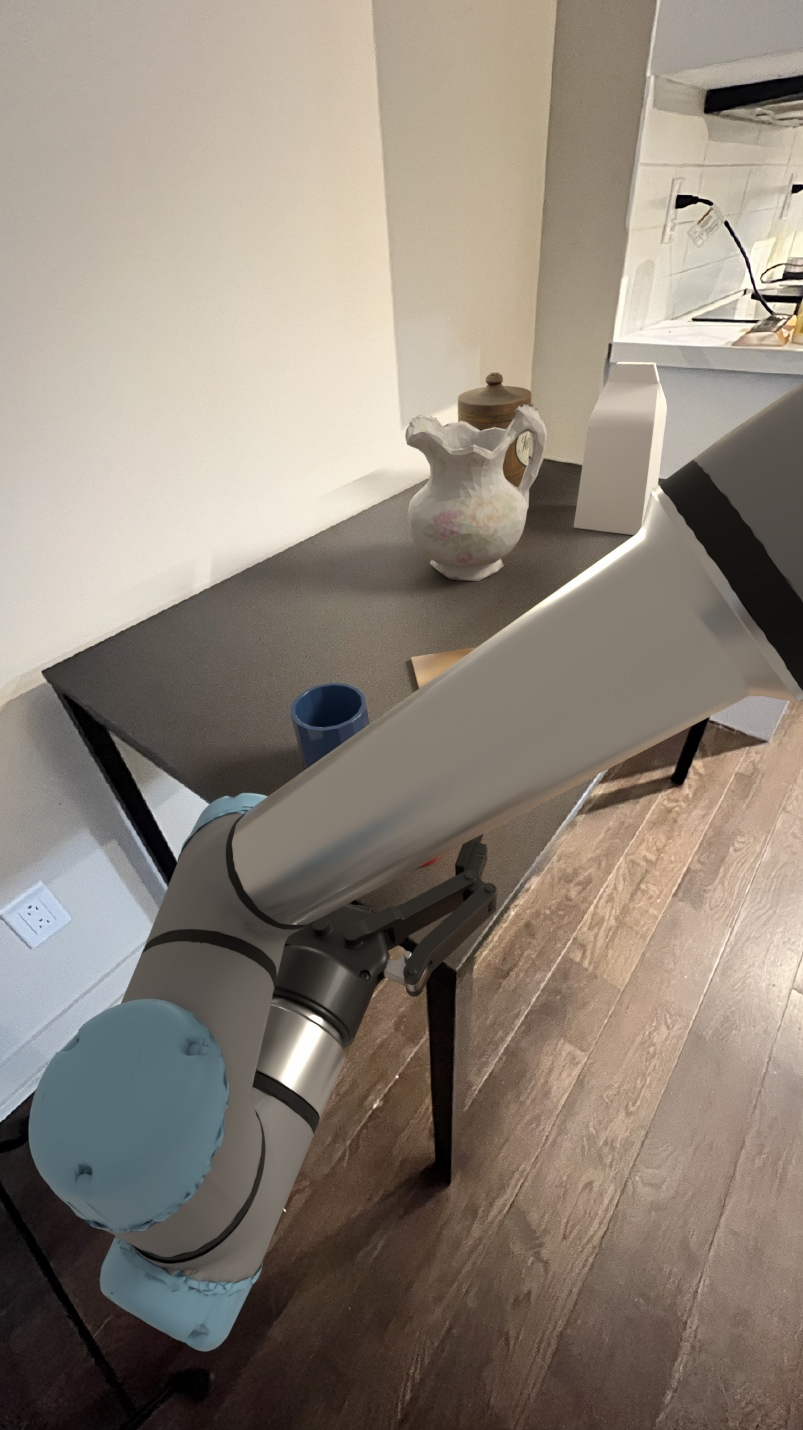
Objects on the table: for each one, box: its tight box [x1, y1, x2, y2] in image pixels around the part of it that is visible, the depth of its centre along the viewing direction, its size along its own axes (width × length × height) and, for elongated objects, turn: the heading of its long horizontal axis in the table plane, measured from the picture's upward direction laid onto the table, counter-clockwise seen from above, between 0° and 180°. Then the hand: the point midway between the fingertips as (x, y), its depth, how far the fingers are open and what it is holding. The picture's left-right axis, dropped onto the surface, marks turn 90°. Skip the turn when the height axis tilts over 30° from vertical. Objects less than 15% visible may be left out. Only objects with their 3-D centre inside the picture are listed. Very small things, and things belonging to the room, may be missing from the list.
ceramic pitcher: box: [404, 403, 547, 582], centre depth 100 cm, size 22×20×25 cm
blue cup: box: [290, 681, 370, 770], centre depth 69 cm, size 8×8×9 cm
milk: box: [573, 361, 668, 536], centre depth 109 cm, size 12×12×26 cm
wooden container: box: [457, 372, 532, 487], centre depth 128 cm, size 15×15×22 cm
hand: (409, 799), depth 57 cm, fingers open, 13 cm apart
